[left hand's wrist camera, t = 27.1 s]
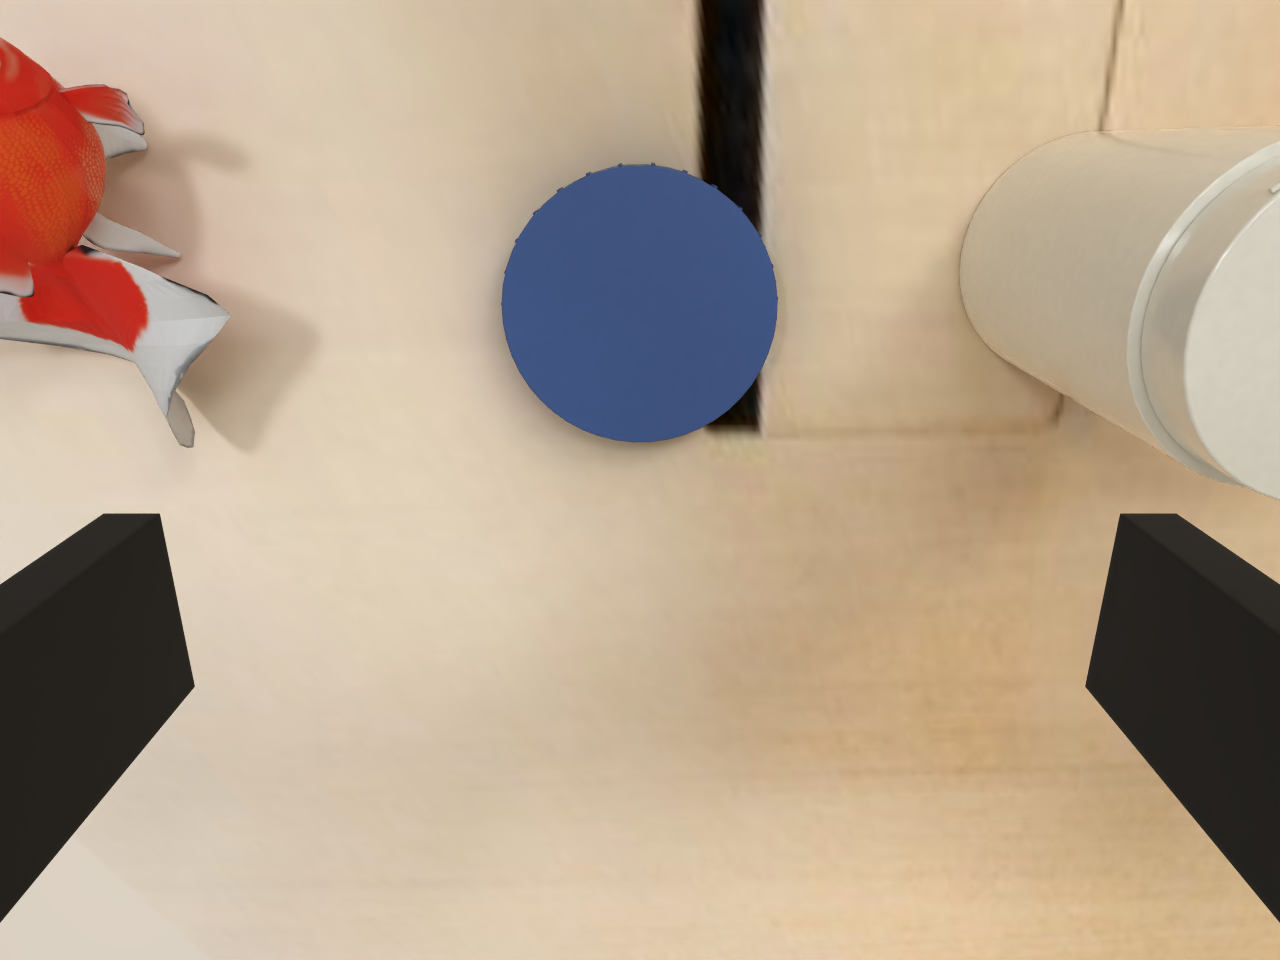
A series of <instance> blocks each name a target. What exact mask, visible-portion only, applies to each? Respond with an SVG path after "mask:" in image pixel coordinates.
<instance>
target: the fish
mask: <svg viewBox="0 0 1280 960" xmlns="http://www.w3.org/2000/svg"><path fill="white" fill-rule="evenodd" d="M144 133H145V132H144V123H143V122H142V120H141V119H140V118H139V116H138V115H137V114H136V113H135V111H134V110H133V109H132V107H131V105H130V102H129V99H128V96H127V94H126V93H125V92H123V91H121V90H120V89H115V88H110V87H108V86H106V85H84V86H78V87H72V88H66V89H65V88H64V87H63V86H62V85H61V84H60V83H59V82H57V81H56V80H55V79H54V78H53V77H52V76H50V74H49V73H48V72H47V71H46V70H45V69H44V68H42V67H41V66H40V65H39V64H37V63H36V62H35V61H33V60H32V59H30V58H29V57H28V56H26V55H25V54H24V53H23V52H21V51H20V50H19V49H17V48H16V47H14V46H13V45H11V44H10V43H8V42H7V41H5V40H4V39H2V38H0V339H5V340H14V341H22V342H31V343H40V344H48V345H57V346H64V347H69V348H75V349H81V350H87V351H93V352H98V353H104V354H109V355H113V356H116V357H119V358H123V359H126V360H129V361H133V362H135V363H136V365H137V367H138V368H139V370H140V371H141V373H142V375H143V376H144V378H145V380H146V381H147V383H148V385H149V386H150V388H151V390H152V392H153V394H154V396H155V398H156V400H157V402H158V405H159V407H160V409H161V411H162V413H163V414H164V416H165V418H166V420H167V422H168V424H169V426H170V428H171V430H172V432H173V434H174V436H175V437H176V439H177V441H178V443H179V445H182V446H184V447H187V448H191V447H193V445H194V435H195V431H194V428H193V424H192V421H191V418H190V415H189V413H188V410H187V408H186V405H185V402H184V400H183V399H182V398H181V397H180V396H179V395H178V394H177V392H176V391H175V390H176V388H177V386H178V384H179V383H180V381H181V379H182V378H183V376H184V374H185V372H186V371H187V369H188V367H189V366H190V364H191V363H192V362H193V361H194V360H195V359H196V358H197V357H198V356H199V355H200V353H201V352H202V351H203V350H204V349H205V348H206V347H207V346H208V345H209V344H210V343H211V341H212V340H213V339H214V337H215V336H216V335H217V334H218V332H219V331H220V330H221V328H222V327H223V326H224V324H225V323H226V322H227V320H228V319H229V318H230V316H231V315H230V314H229V313H228V312H227V311H226V310H224V309H223V308H222V307H221V306H220V305H219V304H217V303H216V302H215V301H214V300H213V299H211V298H210V297H209V296H208V295H206V294H203V293H201V292H198V291H196V290H193V289H191V288H188V287H186V286H183V285H181V284H178V283H176V282H174V281H171V280H169V279H166V278H164V277H162V276H160V275H157V274H155V273H153V272H151V271H149V270H146V269H144V268H142V267H140V266H137V265H134V264H132V263H129V262H127V261H124V260H122V259H119V258H116V257H114V256H111V255H108V254H106V253H103V252H100V251H97V250H95V249H92V248H89V247H86V246H84V245H80V246H78V243H79V241H80V239H81V237H82V235H83V236H84V237H85V238H86V239H87V240H88V241H90V242H91V243H92V244H94V245H96V246H98V247H101V248H103V249H108V250H114V251H125V252H137V253H147V254H155V255H163V256H169V257H176V258H178V257H179V256H180V253H178V252H176V251H174V250H173V249H171V248H169V247H167V246H165V245H163V244H161V243H160V242H158V241H156V240H154V239H152V238H151V237H149V236H147V235H145V234H142V233H140V232H138V231H136V230H133V229H131V228H128V227H126V226H123V225H120V224H118V223H116V222H113V221H111V220H109V219H107V218H106V217H104V216H102V215H101V214H99V213H98V212H97V211H98V208H99V206H100V203H101V200H102V196H103V192H104V187H105V177H106V159H105V157H106V158H113V157H116V156H119V155H122V154H125V153H129V152H135V151H142V150H145V149H146V148H147V142H146V141H145V139H144V138H143V137H141V136H140V135H144ZM139 134H140V135H139ZM77 246H78V247H77Z"/></svg>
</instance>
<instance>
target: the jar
mask: <svg viewBox="0 0 1280 960" xmlns="http://www.w3.org/2000/svg"><path fill="white" fill-rule="evenodd" d="M960 289H961V294H962V300H963V304H964V307H965V310H966V313H967V316H968V318H969V320H970V322H971V324H972V326H973V328H974V329H975V331H976V332H977V334H978V335H979V336H980V338H981V339H982V341H983V342H984V343H985V344H986V345H987V346H988V347H989V348H990V349H991V350H992V351H993V352H995V353H996V354H997V355H998V356H1000V357H1001V358H1002V359H1004V360H1005V361H1007V362H1009V363H1011V364H1012V365H1014V366H1016V367H1017V368H1019V369H1021V370H1022V371H1024V372H1026V373H1028V374H1029V375H1031V376H1033V377H1034V378H1036V379H1038V380H1040V381H1041V382H1043V383H1045V384H1046V385H1048V386H1050V387H1051V388H1053V389H1055V390H1057V391H1058V392H1060V393H1062V394H1063V395H1065V396H1067V397H1068V398H1070V399H1072V400H1074V401H1075V402H1077V403H1079V404H1080V405H1082V406H1084V407H1086V408H1087V409H1089V410H1091V411H1092V412H1094V413H1096V414H1097V415H1099V416H1101V417H1103V418H1104V419H1106V420H1108V421H1109V422H1111V423H1113V424H1114V425H1116V426H1118V427H1120V428H1121V429H1123V430H1125V431H1126V432H1128V433H1130V434H1132V435H1133V436H1135V437H1137V438H1138V439H1140V440H1142V441H1143V442H1145V443H1147V444H1149V445H1150V446H1152V447H1154V448H1155V449H1157V450H1159V451H1161V452H1162V453H1164V454H1166V455H1167V456H1169V457H1171V458H1172V459H1174V460H1176V461H1178V462H1179V463H1181V464H1183V465H1184V466H1186V467H1188V468H1190V469H1192V470H1193V471H1195V472H1197V473H1199V474H1201V475H1203V476H1206V477H1208V478H1211V479H1213V480H1216V481H1219V482H1222V483H1227V484H1231V485H1236V486H1240V487H1248V488H1250V489H1251V490H1253V491H1255V492H1257V493H1260V494H1263V495H1265V496H1268V497H1271V498H1273V499H1276V500H1280V125H1266V126H1236V127H1205V128H1175V129H1144V130H1114V131H1088V132H1082V133H1077V134H1071V135H1068V136H1065V137H1062V138H1059V139H1055V140H1053V141H1051V142H1049V143H1047V144H1044V145H1042V146H1040V147H1038V148H1037V149H1035V150H1033V151H1032V152H1030V153H1028V154H1027V155H1025V156H1024V157H1022V158H1021V159H1020V160H1019V161H1017V162H1016V163H1015V164H1013V165H1012V166H1011V167H1010V168H1009V169H1008V170H1007V171H1006V172H1005V173H1004V174H1003V175H1002V176H1001V177H1000V178H999V179H998V180H997V181H996V182H995V183H994V185H993V186H992V187H991V188H990V190H989V191H988V192H987V193H986V195H985V196H984V198H983V200H982V201H981V203H980V204H979V206H978V208H977V209H976V212H975V214H974V216H973V218H972V220H971V222H970V224H969V227H968V230H967V233H966V236H965V239H964V243H963V248H962V252H961V260H960Z"/></svg>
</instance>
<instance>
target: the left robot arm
mask: <svg viewBox="0 0 1280 960" xmlns="http://www.w3.org/2000/svg"><path fill="white" fill-rule="evenodd" d="M194 687H195V685H194V680H193V675H192V671H191V666H190V661H189V656H188V651H187V646H186V641H185V636H184V631H183V626H182V621H181V616H180V611H179V606H178V601H177V596H176V591H175V587H174V582H173V577H172V572H171V567H170V562H169V557H168V552H167V547H166V542H165V537H164V532H163V527H162V522H161V517H160V514H102V515H101V516H100V517H98V518H97V519H95V520H94V521H92V522H91V523H89V524H88V525H86V526H85V527H83V528H82V529H81V530H79V531H78V532H76V533H75V534H73V535H72V536H70V537H69V538H67V539H66V540H65V541H63V542H62V543H60V544H59V545H57V546H56V547H54V548H53V549H51V550H50V551H48V552H47V553H46V554H44V555H43V556H41V557H40V558H38V559H37V560H35V561H34V562H32V563H31V564H30V565H28V566H27V567H25V568H24V569H22V570H21V571H19V572H18V573H16V574H15V575H13V576H12V577H11V578H9V579H8V580H6V581H5V582H3V583H2V584H0V922H1V921H2V920H3V919H4V917H5V916H6V915H7V914H8V913H9V911H10V910H11V909H12V908H13V906H14V905H15V904H16V903H17V902H18V900H19V899H20V898H21V897H22V896H23V894H24V893H25V892H26V891H27V889H28V888H29V887H30V886H31V885H32V883H33V882H34V881H35V880H36V878H37V877H38V876H39V875H40V874H41V872H42V871H43V870H44V869H45V868H46V866H47V865H48V864H49V863H50V862H51V860H52V859H53V858H54V857H55V855H56V854H57V853H58V852H59V851H60V849H61V848H62V847H63V846H64V844H65V843H66V842H67V841H68V840H69V838H70V837H71V836H72V835H73V834H74V832H75V831H76V830H77V829H78V828H79V826H80V825H81V824H82V823H83V821H84V820H85V819H86V818H87V817H88V815H89V814H90V813H91V812H92V811H93V809H94V808H95V807H96V806H97V805H98V803H99V802H100V801H101V800H102V798H103V797H104V796H105V795H106V794H107V792H108V791H109V790H110V789H111V788H112V786H113V785H114V784H115V783H116V781H117V780H118V779H119V778H120V777H121V775H122V774H123V773H124V772H125V771H126V769H127V768H128V767H129V766H130V764H131V763H132V762H133V761H134V760H135V758H136V757H137V756H138V755H139V754H140V752H141V751H142V750H143V749H144V747H145V746H146V745H147V744H148V743H149V741H150V740H151V739H152V738H153V737H154V735H155V734H156V733H157V732H158V730H159V729H160V728H161V727H162V726H163V724H164V723H165V722H166V721H167V720H168V718H169V717H170V716H171V715H172V713H173V712H174V711H175V710H176V709H177V707H178V706H179V705H180V704H181V703H182V701H183V700H184V699H185V698H186V696H187V695H188V694H189V693H190V692H191V690H192V689H193V688H194ZM1085 687H1086V688H1087V689H1088V690H1089V692H1090V693H1091V694H1092V695H1093V696H1094V698H1095V699H1096V700H1097V701H1098V703H1099V704H1100V705H1101V706H1102V707H1103V709H1104V710H1105V711H1106V712H1107V713H1108V715H1109V716H1110V717H1111V718H1112V720H1113V721H1114V722H1115V723H1116V724H1117V726H1118V727H1119V728H1120V729H1121V730H1122V732H1123V733H1124V734H1125V735H1126V737H1127V738H1128V739H1129V740H1130V741H1131V743H1132V744H1133V745H1134V746H1135V747H1136V749H1137V750H1138V751H1139V752H1140V754H1141V755H1142V756H1143V757H1144V758H1145V760H1146V761H1147V762H1148V763H1149V764H1150V766H1151V767H1152V768H1153V769H1154V771H1155V772H1156V773H1157V774H1158V775H1159V777H1160V778H1161V779H1162V780H1163V781H1164V783H1165V784H1166V785H1167V786H1168V788H1169V789H1170V790H1171V791H1172V792H1173V794H1174V795H1175V796H1176V797H1177V798H1178V800H1179V801H1180V802H1181V803H1182V805H1183V806H1184V807H1185V808H1186V809H1187V811H1188V812H1189V813H1190V814H1191V815H1192V817H1193V818H1194V819H1195V820H1196V821H1197V823H1198V824H1199V825H1200V826H1201V828H1202V829H1203V830H1204V831H1205V832H1206V834H1207V835H1208V836H1209V837H1210V838H1211V840H1212V841H1213V842H1214V843H1215V845H1216V846H1217V847H1218V848H1219V849H1220V851H1221V852H1222V853H1223V854H1224V855H1225V857H1226V858H1227V859H1228V860H1229V862H1230V863H1231V864H1232V865H1233V866H1234V868H1235V869H1236V870H1237V871H1238V872H1239V874H1240V875H1241V876H1242V877H1243V879H1244V880H1245V881H1246V882H1247V883H1248V885H1249V886H1250V887H1251V888H1252V889H1253V891H1254V892H1255V893H1256V894H1257V896H1258V897H1259V898H1260V899H1261V900H1262V902H1263V903H1264V904H1265V905H1266V906H1267V908H1268V909H1269V910H1270V911H1271V913H1272V914H1273V915H1274V916H1275V917H1276V919H1277V920H1278V921H1279V922H1280V584H1278V583H1277V582H1275V581H1274V580H1272V579H1271V578H1269V577H1268V576H1267V575H1265V574H1264V573H1262V572H1261V571H1259V570H1258V569H1256V568H1255V567H1253V566H1252V565H1250V564H1249V563H1248V562H1246V561H1245V560H1243V559H1242V558H1240V557H1239V556H1237V555H1236V554H1234V553H1233V552H1232V551H1230V550H1229V549H1227V548H1226V547H1224V546H1223V545H1221V544H1220V543H1218V542H1217V541H1215V540H1214V539H1213V538H1211V537H1210V536H1208V535H1207V534H1205V533H1204V532H1202V531H1201V530H1199V529H1198V528H1197V527H1195V526H1194V525H1192V524H1191V523H1189V522H1188V521H1186V520H1185V519H1183V518H1182V517H1180V516H1179V515H1178V514H1120V517H1119V522H1118V527H1117V532H1116V537H1115V542H1114V547H1113V552H1112V557H1111V562H1110V567H1109V572H1108V577H1107V582H1106V587H1105V591H1104V596H1103V601H1102V606H1101V611H1100V616H1099V621H1098V626H1097V631H1096V636H1095V641H1094V646H1093V651H1092V656H1091V661H1090V666H1089V671H1088V675H1087V680H1086V685H1085Z"/></svg>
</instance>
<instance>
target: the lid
mask: <svg viewBox="0 0 1280 960" xmlns="http://www.w3.org/2000/svg"><path fill="white" fill-rule="evenodd" d="M687 173H688V171H686V170H683V171H679V170H675V169H671V168H668V167H663V166H655V163H651V165H647V164H643V165H624V166H622V163H621V164H618V166H617V167H611V168H608V169H604V170H601V171H598V172H594V173H592V174H591V172H588V173H587V174H586V176H585V177H583V178H581V179H579V180H577V181H575V182H573V183H572V184H570V185H569V186H567V187H566V188H563V187H562V188H560V189H558V190H557V192H558V193H557V194H555V195H554V196H553V197H552V198H551V199H550V200H548V201H547V202H546V203H545V204H544V205H543V206H542V207H541V208H540V209H538V210H537V211H535V212H534V213H533V215H534V216H533V217H532V218H531V219H530V221H529V222H528V224H527V225H526V227H525V228H524V230H523V231H522V233H521V234H520V236H519V238H518V239H516V241H515V242H516V244H515V246H514V248H513V250H512V253H511V256H510V259H509V262H508V265H507V268H506V270H505V278H504V283H503V293H502V303H501V305H502V315H503V325H504V330H505V335H506V340H507V343H508V346H509V349H510V352H511V355H512V357H513V359H514V361H515V363H516V365H517V368H518V370H519V372H520V373H521V375H522V376H523V378H524V380H525V381H526V383H527V384H528V386H529V387H530V388H531V389H532V391H533V392H534V393H535V394H536V395H537V397H538V398H539V399H540V400H541V401H542V402H543V403H544V404H545V405H546V406H548V407H549V408H550V409H551V410H552V411H553V412H554V413H556V414H557V415H559V416H560V417H561V418H563V419H564V420H566V421H567V422H569V423H571V424H572V425H574V426H576V427H578V428H580V429H582V430H584V431H587V432H589V433H592V434H595V435H597V436H600V437H604V438H609V439H613V440H618V441H627V442H653V441H660V440H667V439H671V438H675V437H678V436H682V435H685V434H688V433H690V432H692V431H695V430H697V429H700V428H701V427H703V426H705V425H707V424H709V423H710V422H712V421H714V420H715V419H717V418H718V417H719V416H721V415H722V414H723V413H725V412H726V411H727V410H729V409H730V408H731V407H732V406H733V405H734V404H735V403H736V402H737V401H738V400H739V399H740V398H741V397H742V396H743V395H744V393H745V392H746V391H747V390H748V388H749V387H750V386H751V385H752V383H753V382H754V380H755V378H756V377H757V375H758V374H759V372H760V370H761V369H762V366H763V364H764V362H765V360H766V358H767V355H768V353H769V350H770V347H771V343H772V340H773V337H774V332H775V326H776V320H777V300H778V297H777V290H776V281H775V276H774V272H773V265H772V264H771V261H770V258H769V256H768V253H767V250H766V247H765V245H764V244H763V242H762V240H761V238H760V237H762V236H761V234H759V233H758V232H757V230H756V229H755V228H754V226H753V225H752V224H751V222H750V221H749V219H748V218H747V217H746V215H745V214H744V213H743V212H742V210H743V209H742V208H741V207H739V206H738V205H735V204H734V203H733V202H732V201H731V200H730V199H729V198H727V197H726V196H725V195H724V194H722V193H721V192H720V191H719V190H717V186H715V185H713V184H711V185H709V184H707V183H705V182H704V181H702V180H700V179H699V178H696V177H694V176H692V175H689V174H687Z"/></svg>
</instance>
